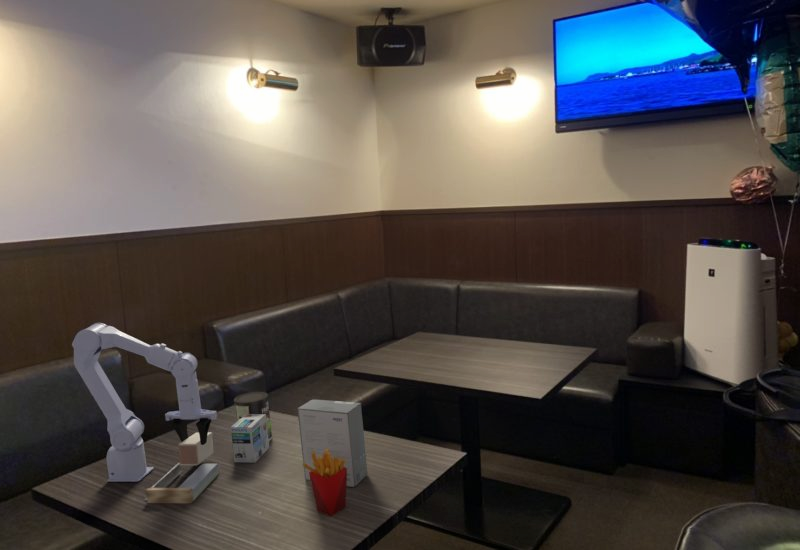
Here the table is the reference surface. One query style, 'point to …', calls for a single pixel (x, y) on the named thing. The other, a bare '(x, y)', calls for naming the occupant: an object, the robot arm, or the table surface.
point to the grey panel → (168, 478)
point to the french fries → (328, 483)
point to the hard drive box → (334, 435)
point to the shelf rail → (169, 495)
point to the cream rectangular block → (195, 449)
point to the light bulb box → (250, 438)
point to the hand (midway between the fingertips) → (194, 443)
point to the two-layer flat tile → (201, 478)
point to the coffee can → (253, 406)
